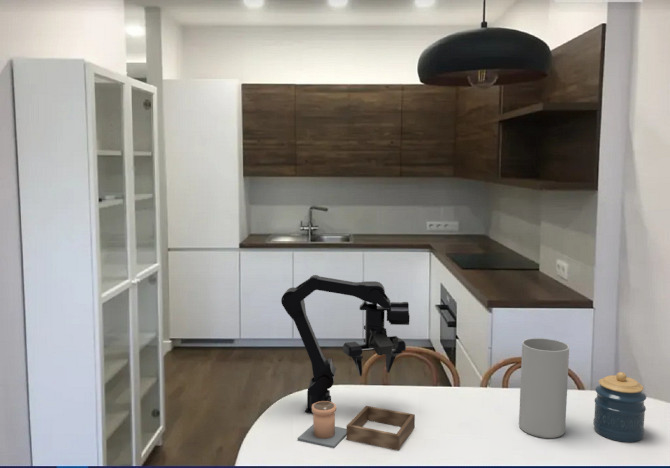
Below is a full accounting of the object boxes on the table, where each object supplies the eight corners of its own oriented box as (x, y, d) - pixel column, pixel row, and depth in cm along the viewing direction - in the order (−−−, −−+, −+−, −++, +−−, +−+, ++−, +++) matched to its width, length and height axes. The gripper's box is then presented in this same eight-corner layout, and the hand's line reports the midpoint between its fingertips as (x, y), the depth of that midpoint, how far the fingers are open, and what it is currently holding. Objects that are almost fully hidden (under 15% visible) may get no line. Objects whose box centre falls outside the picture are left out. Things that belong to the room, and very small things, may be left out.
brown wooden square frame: (346, 439, 158) (346, 425, 157) (365, 418, 171) (366, 405, 171) (398, 450, 152) (398, 436, 151) (414, 427, 165) (414, 414, 165)
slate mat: (297, 440, 157) (297, 438, 157) (315, 424, 167) (315, 422, 167) (334, 448, 153) (334, 446, 153) (350, 431, 163) (350, 429, 163)
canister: (639, 426, 167) (643, 367, 165) (647, 446, 155) (652, 383, 153) (591, 420, 171) (594, 362, 170) (595, 438, 159) (598, 377, 157)
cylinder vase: (522, 416, 173) (525, 336, 171) (566, 425, 168) (570, 341, 165) (515, 433, 162) (519, 347, 159) (563, 442, 157) (567, 353, 154)
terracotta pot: (308, 436, 158) (307, 408, 157) (318, 426, 164) (317, 399, 163) (330, 441, 155) (330, 412, 155) (340, 430, 162) (339, 403, 161)
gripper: (356, 333, 162) (356, 387, 164) (415, 328, 169) (414, 379, 171) (342, 324, 173) (342, 374, 174) (398, 319, 179) (397, 367, 181)
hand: (374, 374), depth 175 cm, fingers open, 9 cm apart
